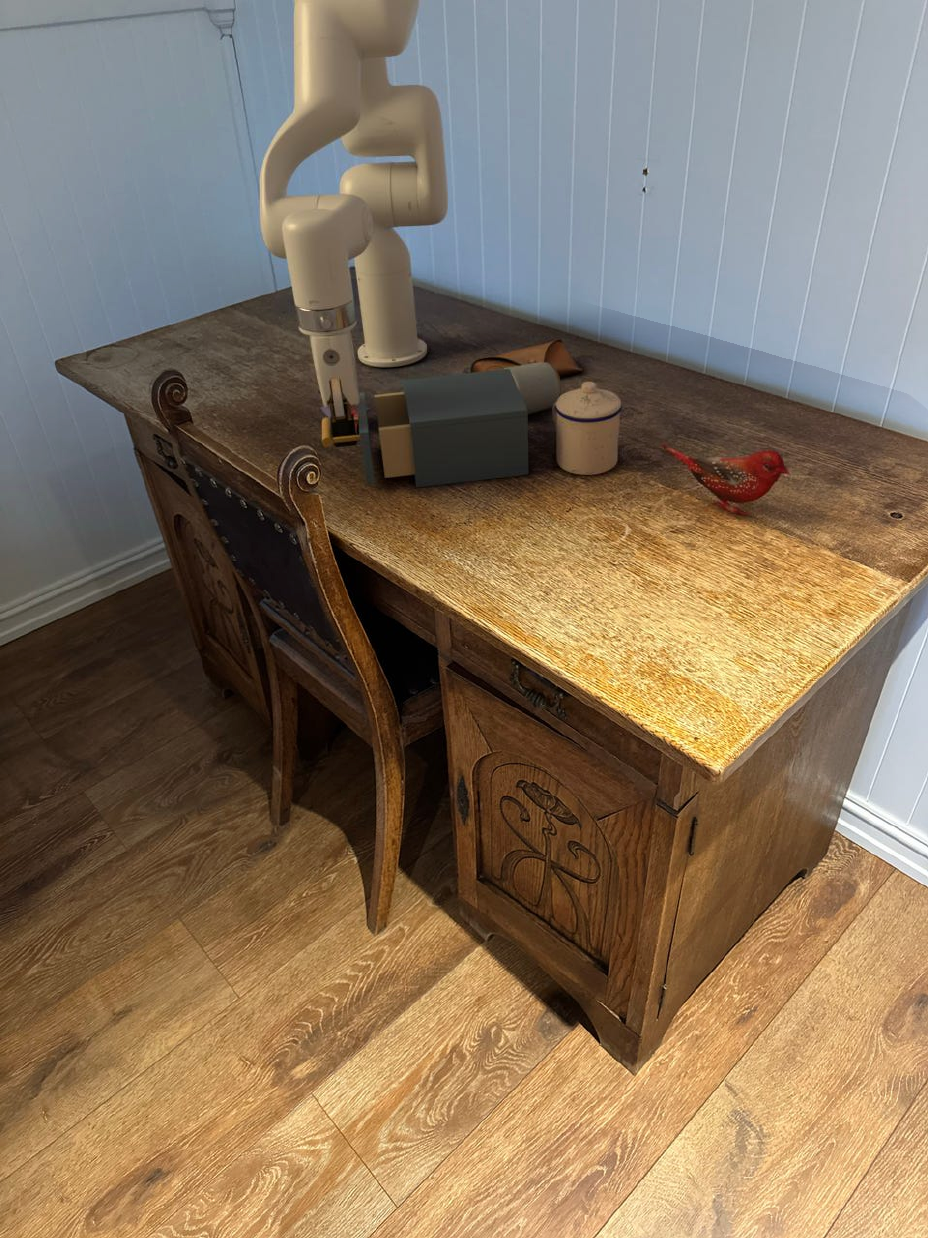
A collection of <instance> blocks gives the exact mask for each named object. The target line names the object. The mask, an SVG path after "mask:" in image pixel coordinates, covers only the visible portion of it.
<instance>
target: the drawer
mask: <svg viewBox="0 0 928 1238" xmlns="http://www.w3.org/2000/svg"><path fill="white" fill-rule="evenodd" d="M359 399H360V402H359V404H358V405H357V410H358V418H354V423H358V428H359V429H358V432H359V433H358V434H356V435H352V436H343V437H334V438H333V433H332V427H331V419H330V418H328V417H327V416H326V417H324V418H323V419H322V420H321V444H322V446H323V447H324V448H331V447H332V446H333V445H334V443H339V442H348V441H357V442H358V441H360V448H361V454H362V461H363V462H362V463H363V469H364V474H365V475H364V477H365V483H366V486H371V485H376V478H375V477H376V475H375V467H374V458H373V448H372V438H371V432H370V424H369V423H370V422H369V417H368V412H367V408H368V407H367V408H366V406H367V401H366V394H365V391H363V392H362V391H360V392H359ZM374 402H375V410H376V417H377V426H378V435H379V444H380V450H381V458H382V467H383V474H384V475H383V476H384V479H387V478H397V477H403V476H415V469H414V459H413V449H412V440H411V430H410V423H409V417H408V412H407V406H406V401H405V395H404V392H403V391H399V392H390V393H389V392H388V393H381V394H374Z"/></svg>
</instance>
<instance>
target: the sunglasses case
mask: <svg viewBox="0 0 928 1238" xmlns="http://www.w3.org/2000/svg"><path fill="white" fill-rule="evenodd" d="M537 362H546V363H549V364H551V365H552V366H553V367H554V368H555V369H556V371H557V373H558V375H559V378H560V379H561V378H564V377H567V376H570V375H574V374H576V373H579V372H583V371H584V369H583V368H582V367H579V365H578V364H577V362H576V361H575V359H573V357H572V355H571V354H570V353H569V351H568V350H567V348H566V346H565V345H564V344H563V340H562V339H555V340H553V341H550V342H548V343H544V344H538V345H534V346H529V347H525V348H521V349H516V350H512V351H508V352H506V353H501V354H499V355H494V356H485V357H480V358H477V359H475V360H474V361H473V362H472V364H471V365H470V373H473V372H483V371H492V370H501V369H504V368H509V367H515V366H521V365H527V364H532V363H537Z"/></svg>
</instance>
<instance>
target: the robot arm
mask: <svg viewBox="0 0 928 1238" xmlns="http://www.w3.org/2000/svg"><path fill="white" fill-rule="evenodd" d="M293 3H294V8H293V9H294V10H293V67H294V68H293V98H294V101H293V102H294V103H293V104H294V105H293V110H292V112H291V114H289V116H288V118H286V120H285V121H284V122H283V123H282V125H281V126H280V127H279V129H277V131H276V133H275V135H274V136H273V138H272V140H271V142H270V143H269V146H268V147H267V150H266V152H265V154H264V157H263V160H262V164H261V168H260V174H259V220H260V221H259V222H260V231H261V236H262V240H263V243H264V245H265V247H266V248H267V249H266V250H268V251H269V252H270V254H272V255H273V256H275V257H277V258H279V259H285V260H286V261H287V268H288V273H289V279H290V285H291V291H292V296H293V301H294V308H295V313H296V320H297V325H298V330H299V332H300V333H302V334H303V335H306V336H309V341H310V346H311V353H312V358H313V364H314V369H315V374H316V379H317V384H318V388H319V392H320V397H321V401H322V405H323V406H324V407H325V408H327V409H329V407H330V412H331V416H330V419H331V427H332V433H333V438H334V437H343V436H352V435H357V433H356V430H355V423H354V416H353V414H351V406H350V405H355V406H357V405H358V404H359V402H360V399H359V393H360V392H359V391H360V389H359V381H358V373H357V366H356V359H355V351H354V345H353V339H352V333H351V330H353V329H354V328H356V326H357V322H358V321H357V316H356V307H355V300H354V291H353V284H352V277H351V270H350V264H349V263H350V262H349V261H351V260H353V261H354V267H355V269H354V271H355V276H356V284H357V292H358V300H359V308H360V315H361V324H362V331H363V339H364V343H363V344H362V345H361V346H359V348H358V349H357V358H358V360H359V361H360V362H361V363H362V364H364V365H367V366H369V367H375V368H398V367H404V366H408V365H411V364H414V363H416V362H418V361H420V360H422V359H424V358H425V356H426V355H427V353H428V345H427V343H426V342H425V341H424V340H423V339H420V338H418V328H417V327H418V326H417V318H416V306H415V295H414V294H415V293H414V284H413V272H412V262H411V255H410V251H409V248H408V245H407V244H406V243H405V241H404V239H403V238H402V237H401V236H400V234H399V233H398V232H397V231H396V229H395V228H400V227H402V228H403V227H423V226H424V227H425V226H434V225H438V224H440V223H442V221H444V220H445V218H446V217H447V213H448V210H449V189H448V188H449V187H448V177H447V164H446V155H445V154H446V153H445V139H444V129H443V121H442V113H441V108H440V103H439V100H438V98H437V96H436V94H435V92H434V91H433V89H431V88H430V87H428V86H425V85H421V84H405V85H403V84H402V85H392V84H391V83H390V81H389V75H388V74H389V73H388V65H387V58H391V57H393V58H394V57H397V56H400V55H402V54H403V53H404V52H405V50H406V48H407V46H409V45H408V44H409V42H410V39H411V36H412V32H413V29H414V26H415V23H416V21H417V17H418V13H419V7H420V0H293ZM339 139H340V140H341V143H342V145H343V147H344V149H345V150H346V152H347V153H348V154H350V155H352V156H355V157H360V158H383V157H385V158H386V157H403V156H404V157H408V156H409V157H411V158H412V159H413V160H414V161H399V162H397V161H386V162H385V161H383V162H368V163H362V164H357V165H354V166H352V167H349V168H348V169H347V170H345V172H344V173H343V175H342V176H341V179H340V182H339V193H334V194H333V193H332V194H303V195H301V194H299V195H297V194H296V195H287V193H288V188H289V187H288V186H289V183H290V181H291V178H292V175H293V174H294V172H295V171H296V170H297V168H299V166H300V165H301V164H302V163H303V162H304V161H305V160H306V159H308V158H309V157H310V156H312V155H313V154H315V153H317V152H318V151H320V150H322V149H323V148H325V147H326V146H329V145H330V144H332V143H333V142H335V141H337V140H339ZM333 445H334V447H335V448H343V447H351V446H356V445H358V440H357V441H348V442H339V443H333Z"/></svg>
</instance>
